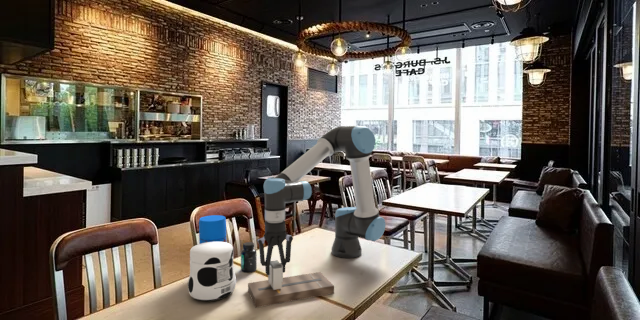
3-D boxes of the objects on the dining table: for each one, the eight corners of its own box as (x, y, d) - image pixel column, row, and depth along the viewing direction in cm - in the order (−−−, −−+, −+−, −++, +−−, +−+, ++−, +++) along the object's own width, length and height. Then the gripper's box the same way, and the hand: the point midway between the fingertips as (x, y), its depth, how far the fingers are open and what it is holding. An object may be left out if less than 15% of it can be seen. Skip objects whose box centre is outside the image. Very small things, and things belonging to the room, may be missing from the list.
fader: (277, 281, 137) (277, 260, 136) (281, 288, 131) (281, 266, 130) (269, 283, 136) (269, 261, 135) (273, 290, 130) (273, 267, 129)
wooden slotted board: (320, 278, 148) (320, 271, 148) (333, 293, 135) (334, 285, 135) (248, 290, 137) (248, 282, 137) (255, 307, 124) (255, 299, 124)
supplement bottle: (241, 274, 153) (240, 246, 152) (240, 268, 159) (240, 241, 158) (257, 272, 154) (257, 245, 153) (255, 266, 161) (255, 240, 160)
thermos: (219, 282, 144) (218, 222, 142) (195, 280, 146) (193, 220, 144) (231, 272, 155) (230, 215, 152) (208, 270, 157) (207, 214, 155)
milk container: (198, 283, 143) (197, 240, 141) (241, 284, 142) (240, 240, 141) (180, 305, 125) (178, 255, 124) (228, 306, 125) (227, 256, 123)
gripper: (254, 225, 125) (255, 289, 127) (299, 220, 131) (299, 282, 133) (250, 220, 132) (251, 281, 134) (293, 216, 138) (293, 274, 140)
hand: (275, 281), depth 133 cm, fingers open, 3 cm apart
